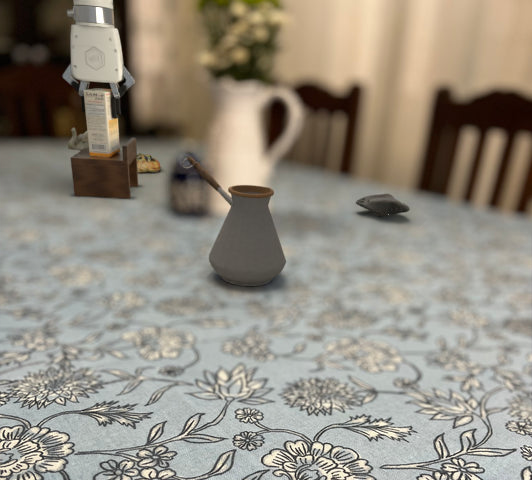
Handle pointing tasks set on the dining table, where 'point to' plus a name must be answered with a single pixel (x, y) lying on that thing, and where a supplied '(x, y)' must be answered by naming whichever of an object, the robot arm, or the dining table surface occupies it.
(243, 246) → the coffee pot
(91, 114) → the supplement box
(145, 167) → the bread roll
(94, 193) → the dark wooden step block
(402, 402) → the dining table surface
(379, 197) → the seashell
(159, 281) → the dining table surface
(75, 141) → the figurine
